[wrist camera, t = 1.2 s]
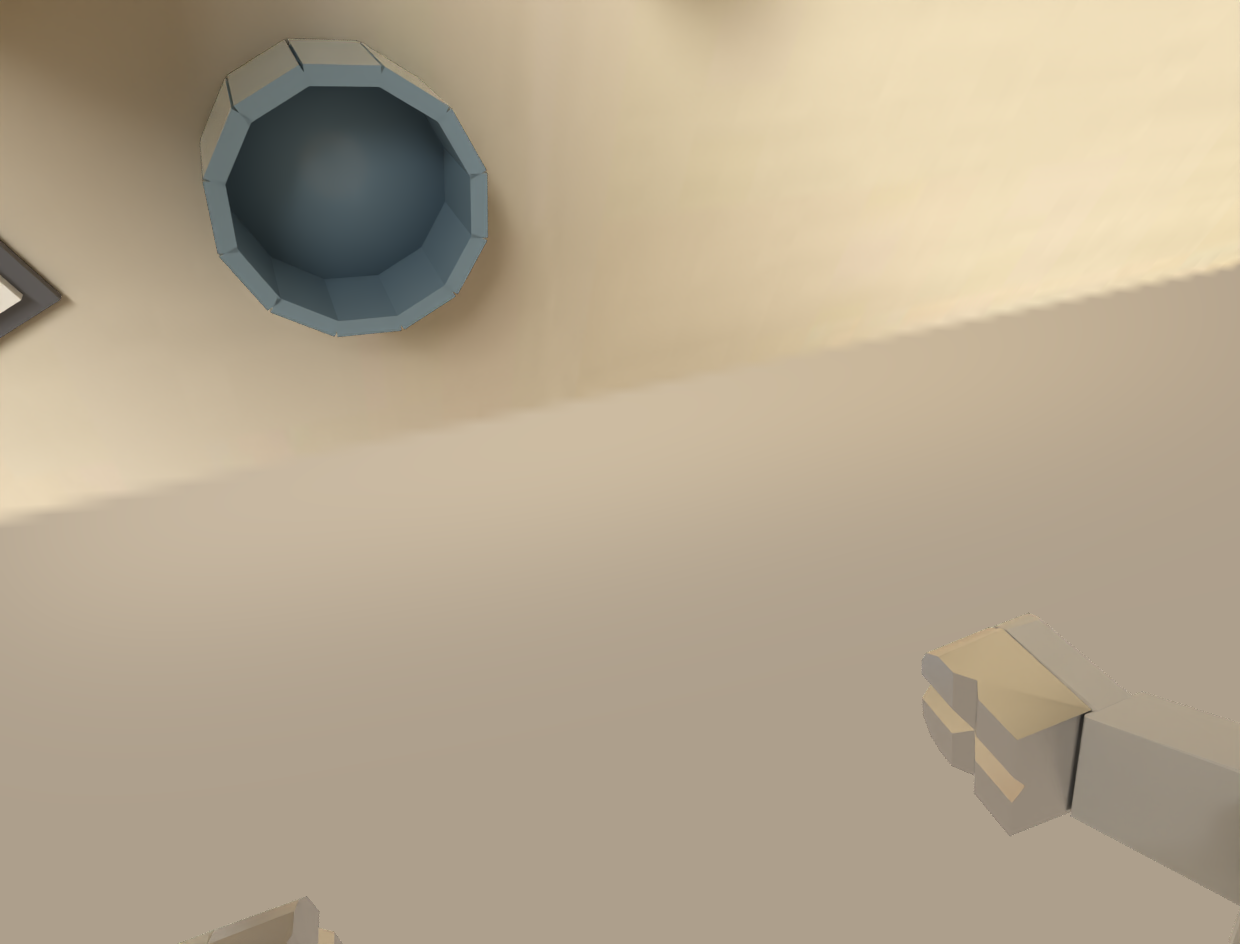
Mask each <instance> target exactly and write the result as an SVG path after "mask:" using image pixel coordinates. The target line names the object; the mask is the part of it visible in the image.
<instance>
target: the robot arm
mask: <svg viewBox="0 0 1240 944" xmlns="http://www.w3.org/2000/svg"><path fill="white" fill-rule="evenodd" d="M922 675H923V676H924V677H925V678H926V680H927V681H928V682H929V683H930V684H931V685H930V686H929V688H928V689H927V691H926V693H925V694H924V696H923V697H922V703H923V716H924V719H925V721H926V724H927V727H928V730H929V732H930V735H931V737H932V738H933V740H934V742H935V744H936V745H937V747H938V749H939V750H940V752H941V753H942V754H943V755H944V756H945V758H946V759H947V760H948V762H949V763H950V764H951V765H952V766H953V767H956V768H958V769H961V770H963V771H965V772H967V773H970V774H972V775H974V794H975V795H976V796H977V797H978V798H979V800H980V801H981V802H982V803H983V805H984V806H985V807H986V808H987V809H988V811H989V812H990V813H991V814H992V816H993V817H994V818H995V819H996V820H997V822H998V823H999V824H1000V825H1001V826H1002V828H1003V829H1004V830H1005V831H1006V832H1007V834H1008V835H1009V836H1011V835H1014V834H1016V833H1019V832H1021V831H1024V830H1026V829H1029V828H1032V827H1034V826H1037V825H1039V824H1042V823H1044V822H1046V821H1049V820H1052V819H1054V818H1057V817H1059V816H1062V815H1064V814H1067V813H1069V812H1071V815H1070V816H1071V817H1073V818H1075V819H1077V820H1079V821H1081V822H1082V823H1085V824H1086V825H1088V826H1090V827H1092V828H1094V829H1096V830H1098V831H1099V832H1101V833H1103V834H1105V835H1107V836H1109V837H1111V838H1113V839H1115V840H1116V841H1119V842H1120V843H1122V844H1124V845H1126V846H1128V847H1130V848H1132V849H1133V850H1135V851H1137V852H1139V853H1141V854H1143V855H1145V856H1147V857H1149V858H1150V859H1152V860H1154V861H1156V862H1158V863H1160V864H1162V865H1164V866H1166V867H1167V868H1170V869H1171V870H1173V871H1175V872H1177V873H1179V874H1181V875H1183V876H1185V877H1187V878H1188V879H1190V880H1192V881H1194V882H1196V883H1198V884H1200V885H1202V886H1203V887H1205V888H1207V889H1209V890H1211V891H1213V892H1215V893H1217V894H1219V895H1221V896H1222V897H1224V898H1226V899H1228V900H1230V901H1232V902H1234V903H1236V904H1238V905H1240V723H1239V722H1236V721H1233V720H1230V719H1227V718H1223V717H1220V716H1217V715H1214V714H1211V713H1208V712H1204V711H1202V710H1198V709H1195V708H1192V707H1189V706H1186V705H1183V704H1180V703H1176V702H1174V701H1170V700H1167V699H1164V698H1161V697H1158V696H1155V695H1152V694H1148V693H1146V692H1139V693H1137V694H1134V695H1131V694H1130V693H1129V692H1127V691H1126V690H1125V689H1124V688H1123V687H1121V686H1120V685H1119V684H1118V683H1117V682H1116V681H1114V680H1113V679H1112V678H1111V677H1110V676H1108V675H1107V674H1106V673H1105V672H1104V671H1102V670H1101V669H1100V668H1099V667H1098V666H1096V665H1095V664H1094V663H1093V662H1091V661H1090V660H1089V659H1088V658H1087V657H1086V656H1085V655H1083V654H1082V653H1081V652H1080V651H1078V650H1077V649H1076V648H1075V647H1074V646H1072V645H1071V644H1070V643H1069V642H1068V641H1067V640H1065V639H1064V638H1063V637H1061V635H1059V634H1058V633H1057V632H1056V631H1055V630H1054V629H1052V628H1051V627H1050V626H1049V625H1047V624H1046V623H1045V622H1044V621H1043V620H1041V619H1040V618H1039V617H1037V616H1035V615H1032V614H1030V613H1027V614H1024V615H1021V616H1019V617H1016V618H1014V619H1011V620H1009V621H1006V622H1004V623H1001V624H999V625H996V626H994V627H992V628H991V627H988V628H986V629H984V630H981V631H979V632H976V633H974V634H971V635H969V636H967V637H964V638H961V639H959V640H957V641H954V642H952V643H950V644H947V645H945V646H942V647H939V648H937V649H934V650H932V651H930V652H927V653H926V654H925V656H924V658H923V659H922ZM178 944H342V942H341V941H340V939H339V938H338V936H337V935H336V934H335V932H333V931H329V930H325V929H322V928H319V910H318V909H317V908H316V907H315V905H314V904H313V903H312V902H311V901H310V899H309V898H308V897H307V896H306V897H304V898H301V899H298V900H295V901H293V902H290V903H287V904H284V905H281V906H279V907H276V908H273V909H271V910H268V911H265V912H262V913H260V914H257V915H254V916H251V917H248V918H245V919H243V920H240V921H237V922H234V923H232V924H229V925H226V926H223V927H221V928H218V929H215V930H212V931H210V932H207V933H205V934H202V935H199V936H196V937H194V938H191V939H189V940H186V941H183V942H181V943H178ZM1229 944H1240V909H1239V912H1238V915H1237V918H1236V920H1235V923H1234V926H1233V929H1232V932H1231V935H1230V937H1229Z"/></svg>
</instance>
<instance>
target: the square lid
mask: <svg viewBox="0 0 1240 944" xmlns="http://www.w3.org/2000/svg"><path fill="white" fill-rule="evenodd" d="M22 296H23V294H22V293H20V292H19V291H18V290H17V289H16V288H15V287H14V286H12V285H11V284H10V283H9V282H8V281H7V280H5V279H4V278H3V277H2V276H1V275H0V313H2V312H3V311H5V310H6V309H8V308H9V307H11V306H13V305H14V304H16V303H17V302H19V301H20V300H21V299H22Z"/></svg>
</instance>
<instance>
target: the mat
mask: <svg viewBox="0 0 1240 944" xmlns="http://www.w3.org/2000/svg"><path fill="white" fill-rule="evenodd" d="M0 275H1V276H2V277H3V278H4V279H5V280H7V281H8V282H9V283H10V284H11V285H12V286H14V287H15V288H16V289H17V290H18V291H19V292H20V293H22V294H23V296H22V299H21V300H20V301H19V302H17V303H16V304H14V305H13V306H11V307H9V308H8V309H6V310H5V311H3V312H2V313H0V338H1V337H2V336H4V335H5V334H7V333H9V332H10V331H12V330H13V329H15V328H16V327H18V326H20V325H21V324H23V323H24V322H26V321H28V320H29V319H31V318H32V317H34V316H35V315H37V314H39V313H40V312H42V311H43V310H45V309H46V308H48V307H50V306H51V305H53V304H54V303H56V302H57V301H59V300H60V299H61V296H62V295H61V294H60V293H58V292H57V291H56V290H55V289H54V288H53V287H52V286H51V285H49V284H48V283H47V282H46V281H45V280H44V279H43V278H42V277H41V276H39V275H38V274H37V273H36V272H35V271H34V270H33V269H32V268H31V267H29V266H28V265H27V264H26V263H25V262H24V261H23V260H22V259H20V258H19V257H18V256H17V255H16V254H15V253H14V252H13V251H12V250H10V249H9V248H8V247H7V246H6V245H5V244H4V243H3V242H2V241H0Z"/></svg>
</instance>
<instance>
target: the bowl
mask: <svg viewBox="0 0 1240 944" xmlns="http://www.w3.org/2000/svg"><path fill="white" fill-rule="evenodd" d="M288 45H289V46H288ZM227 77H228V79H226V78H225V79H224V81H223V84H222V86H221V89H220V91H219V94H218V96H217V99H216V101H215V104H214V106H213V109H212V111H211V114H210V116H209V119H208V121H207V124H206V126H205V129H204V131H203V134H202V136H201V139H200V152H201V166H202V179H203V186H204V190H205V195H206V200H207V205H208V209H209V214H210V219H211V224H212V229H213V233H214V238H215V243H216V248H217V252H218V254H219V257H220V258H221V259H222V260H223V262H224V263H225V264H226V265H227V266H228V267H229V268H230V269H231V270H232V272H233V273H234V274H235V275H236V276H237V277H238V278H239V279H240V280H241V282H242V283H243V284H244V285H245V286H246V287H247V288H248V289H249V290H250V292H251V293H252V294H253V295H254V296H255V297H256V298H257V299H258V300H259V302H260V303H261V304H262V305H263V306H264V307H265V308H266V309H267V310H269V309H270V312H271V313H273V314H276V315H279V316H281V317H284V318H287V319H289V320H292V321H294V322H297V323H300V324H302V325H305V326H308V327H310V328H313V329H316V330H318V331H321V332H324V333H326V334H329V335H332V336H335V334H336V333H337V336H338V337H343V336H352V335H362V334H372V333H382V332H392V331H401V326H402V327H403V328H404V329H406V328H408V327H409V326H411V325H412V324H414V323H415V322H417V321H418V320H420V319H421V318H423V317H425V316H426V315H428V314H429V313H431V312H432V311H434V310H435V309H437V308H438V307H440V306H442V305H443V304H445V303H446V302H448V301H449V300H451V299H452V298H454V297H455V294H454V293H453V292H455V293H457V294H458V293H459V291H460V289H461V287H462V286H463V284H464V282H465V280H466V278H467V276H468V275H469V273H470V271H471V269H472V267H473V265H474V264H475V262H476V260H477V258H478V256H479V254H480V253H481V251H482V249H483V247H484V245H485V243H486V242H487V240H486V239H485V238H488V196H487V173H486V168H485V167H484V165H483V163H482V161H481V160H480V158H479V156H478V154H477V152H476V151H475V149H474V147H473V145H472V144H471V142H470V140H469V138H468V136H467V135H466V133H465V131H464V129H463V128H462V126H461V124H460V122H459V121H458V119H457V117H456V115H455V113H454V112H453V110H452V109H451V108H450V107H449V105H447V104H446V103H445V102H444V101H443V100H442V99H441V98H440V97H439V96H438V95H437V94H436V93H435V92H433V91H432V90H431V89H430V88H429V87H428V86H427V85H426V84H425V83H424V82H423V81H422V80H420V79H419V78H418V77H416V76H415V75H413V74H412V73H410V72H408V71H407V70H405V69H404V68H402V67H400V66H399V65H397V64H396V63H394V62H392V61H391V60H389V59H388V58H386V57H384V56H383V55H381V54H379V53H378V52H376V51H375V50H373V49H371V48H370V47H368V46H367V45H365V44H363V43H362V42H360V43H359V42H358V41H354V40H322V39H290V38H288V44H287V43H286V41H285V40H282V41H281V42H279V43H277V44H276V45H274V46H273V47H271V48H270V49H268V50H266V51H265V52H263V53H262V54H260V55H258V56H257V57H255V58H254V59H252V60H250V61H249V62H247V63H246V64H244V65H242V66H241V67H239V68H238V69H236V70H235V71H233V72H231V73H230V74H228V75H227Z"/></svg>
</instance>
